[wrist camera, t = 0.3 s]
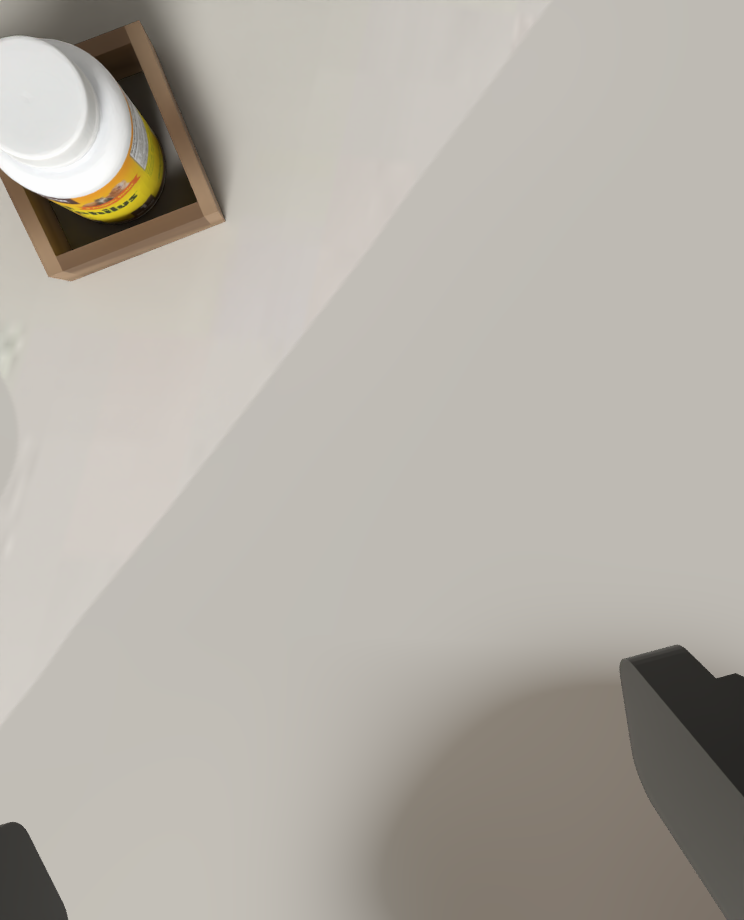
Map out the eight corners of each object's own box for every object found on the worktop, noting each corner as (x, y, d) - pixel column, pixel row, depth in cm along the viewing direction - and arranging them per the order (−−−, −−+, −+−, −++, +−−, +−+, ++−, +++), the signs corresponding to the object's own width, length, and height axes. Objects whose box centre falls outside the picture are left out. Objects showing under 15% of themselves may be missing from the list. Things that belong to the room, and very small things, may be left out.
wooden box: (-10, 111, 31) (-43, 89, 28) (154, 49, 31) (139, 20, 28) (71, 281, 33) (48, 276, 30) (225, 221, 33) (218, 211, 30)
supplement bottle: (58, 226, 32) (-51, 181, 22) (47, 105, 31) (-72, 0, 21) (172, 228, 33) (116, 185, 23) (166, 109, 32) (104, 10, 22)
